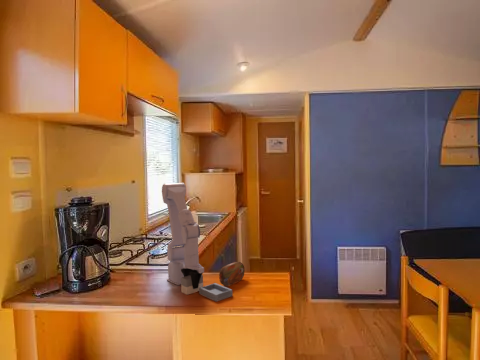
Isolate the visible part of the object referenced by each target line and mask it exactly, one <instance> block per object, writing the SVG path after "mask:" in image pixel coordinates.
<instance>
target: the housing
mask: <svg viewBox="0 0 480 360" xmlns="http://www.w3.org/2000/svg"><path fill="white" fill-rule="evenodd" d="M180 286H181V288H180V289H181V293H182V294H184V295H187V296H188V295H190V294H194V293H196V292H199V288H200V287H204V276H203V274H202V276H201V278H200V281H199V285H198V288H196V289H193V286H192V280H191V276H190V275H189V276H185V277H181V284H180Z"/></svg>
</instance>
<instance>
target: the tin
mask: <svg viewBox="0 0 480 360" xmlns="http://www.w3.org/2000/svg"><path fill="white" fill-rule="evenodd" d="M245 271H246V270H245V265H244V264H243V262H241V261H233V262H232V263H229V264H226V265H224V266H223V267H221V269H220V270H219V273H218V275H219V276H218V277H219V282H220V285H222V286H225V287H230V286H233V285H235V284H236V283H239V282H241V281H242V280H243V278H244V276H245Z"/></svg>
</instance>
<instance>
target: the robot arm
mask: <svg viewBox="0 0 480 360" xmlns="http://www.w3.org/2000/svg"><path fill="white" fill-rule="evenodd" d="M186 194H187V186H186V184H185V183H184V182H176V183H175V182H174V183H165V182H164V183H163V184H162V186H161V196H162V203H164V204H165V205H167V210H168V219H169V225H170V231H171V232H170V233H171V241H170V242H169V243H168V244H167V253H166V254H167V259H168V261H169V262H168V266H167V272H168V273H167V274H168V275H167V277H168V278H166V281H168V282H170V283H172V284H175V285H178V286H179V285H181V277H185V276H189V275H190V276H191V280H192V286H193V289H196V288H198V285H199V281H200V278H201V276H202V275H203V274H204V273H205V267H203V266H202V265H201V264H200V263H199V260H200V258H199V238H200V237H201V228H200V224H198V223H197V222H196V221H195V219H194V216H193V213H192V211H191V210H190V209H188V206H187V203H186Z"/></svg>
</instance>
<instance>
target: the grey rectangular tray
mask: <svg viewBox="0 0 480 360" xmlns="http://www.w3.org/2000/svg"><path fill="white" fill-rule="evenodd" d="M198 292H199V295H201V296H203V297H205V298H207V299H210V300H212V301H214V302H219V301H223V300H225V299H228V298H231V297H233V289H231V288H229V287H228V286H225V285H222V284H219V283H216V282H214V283H211V284H208V285H203V287H200V288H199V291H198Z"/></svg>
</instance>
